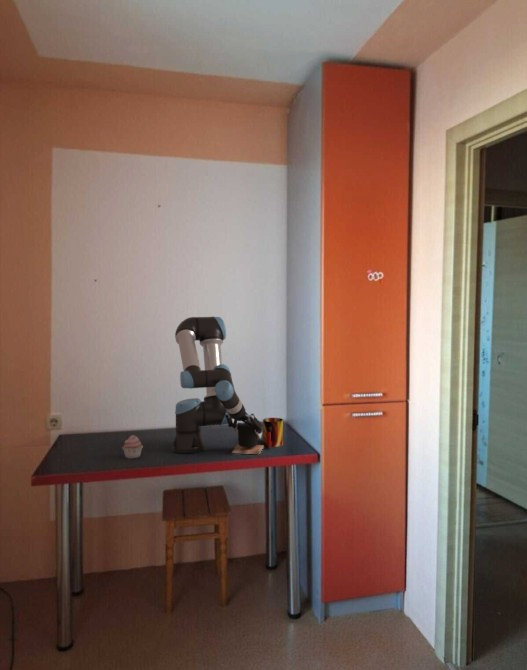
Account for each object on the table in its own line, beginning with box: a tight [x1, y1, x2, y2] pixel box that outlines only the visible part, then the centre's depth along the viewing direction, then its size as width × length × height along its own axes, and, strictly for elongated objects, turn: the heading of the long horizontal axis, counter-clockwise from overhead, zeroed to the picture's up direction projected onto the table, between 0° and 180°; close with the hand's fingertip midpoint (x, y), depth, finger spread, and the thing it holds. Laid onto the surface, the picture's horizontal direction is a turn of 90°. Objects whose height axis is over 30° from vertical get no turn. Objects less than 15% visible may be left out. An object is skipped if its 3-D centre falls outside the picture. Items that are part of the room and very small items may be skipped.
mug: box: [262, 417, 284, 448], centre depth 242 cm, size 10×14×12 cm
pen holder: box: [237, 422, 259, 447], centre depth 233 cm, size 9×9×10 cm
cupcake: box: [121, 434, 144, 460], centre depth 225 cm, size 9×9×10 cm
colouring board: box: [231, 443, 265, 456], centre depth 233 cm, size 12×12×1 cm
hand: (251, 434), depth 236 cm, fingers closed on pen holder, 9 cm apart
